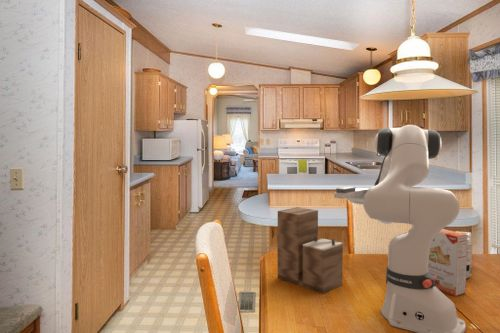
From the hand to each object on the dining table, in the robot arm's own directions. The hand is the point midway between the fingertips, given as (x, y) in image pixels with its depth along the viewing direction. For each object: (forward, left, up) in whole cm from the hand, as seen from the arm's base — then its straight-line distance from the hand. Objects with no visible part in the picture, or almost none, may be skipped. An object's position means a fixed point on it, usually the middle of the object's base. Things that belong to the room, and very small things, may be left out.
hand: (360, 190), depth 153 cm
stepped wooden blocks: (+6, +27, -32) cm, 43 cm away
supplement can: (-32, -19, -32) cm, 49 cm away
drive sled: (0, +6, -1) cm, 6 cm away
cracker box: (-32, -1, -33) cm, 46 cm away
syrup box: (-30, -31, -32) cm, 54 cm away
